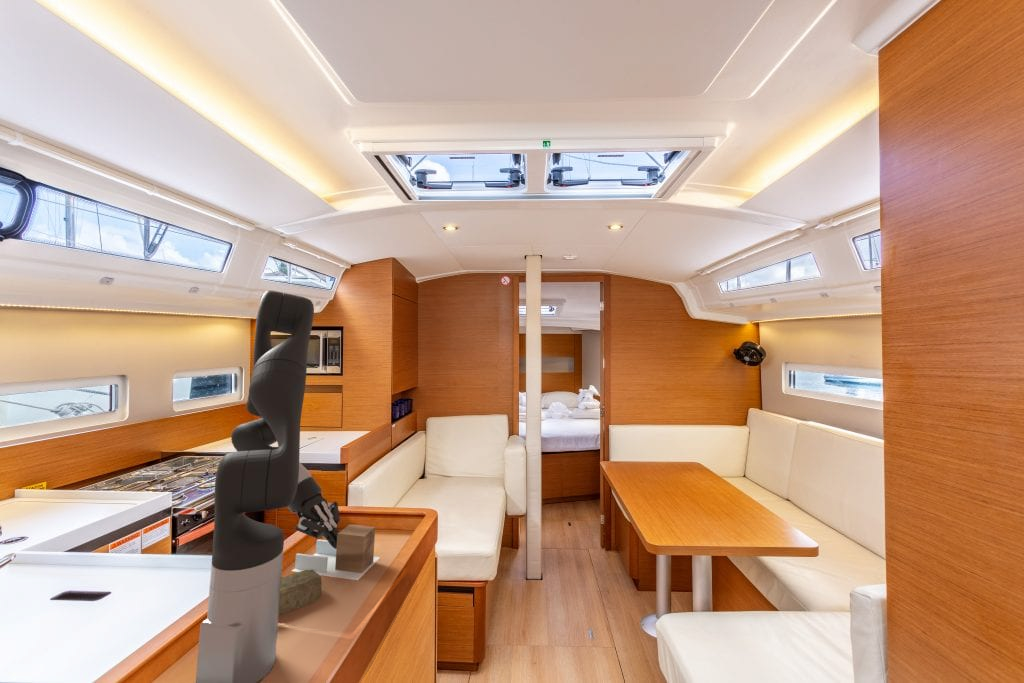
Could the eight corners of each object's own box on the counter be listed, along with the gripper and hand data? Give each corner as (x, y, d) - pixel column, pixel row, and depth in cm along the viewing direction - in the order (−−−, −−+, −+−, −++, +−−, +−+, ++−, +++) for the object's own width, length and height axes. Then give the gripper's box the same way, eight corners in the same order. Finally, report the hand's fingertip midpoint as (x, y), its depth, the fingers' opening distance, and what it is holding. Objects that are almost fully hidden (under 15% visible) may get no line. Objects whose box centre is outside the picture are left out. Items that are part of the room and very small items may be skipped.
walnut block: (361, 573, 85) (364, 536, 86) (335, 569, 86) (337, 533, 87) (373, 561, 90) (375, 527, 91) (347, 558, 91) (349, 524, 92)
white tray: (357, 583, 83) (358, 565, 83) (275, 571, 86) (276, 554, 86) (380, 559, 92) (381, 544, 93) (305, 550, 96) (306, 535, 96)
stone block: (322, 601, 76) (324, 575, 76) (255, 630, 68) (257, 601, 68) (311, 589, 80) (312, 564, 80) (246, 615, 72) (248, 587, 72)
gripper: (287, 484, 85) (334, 548, 82) (325, 469, 98) (366, 523, 95) (264, 507, 85) (309, 570, 83) (304, 488, 98) (345, 542, 96)
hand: (340, 545), depth 89 cm, fingers closed
